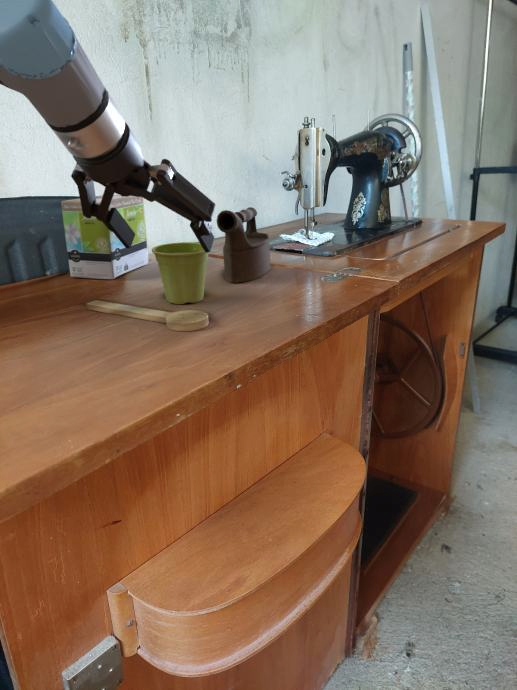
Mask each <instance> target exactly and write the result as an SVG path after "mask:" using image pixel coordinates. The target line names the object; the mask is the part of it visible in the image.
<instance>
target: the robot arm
mask: <svg viewBox="0 0 517 690" xmlns="http://www.w3.org/2000/svg"><path fill="white" fill-rule="evenodd" d="M0 85H1V86H3V87H5V88H7V89H10V90H12V91H15V92H17V93H19V94H21V95H23V96H24V97H25V98H26V99H27V100H28V101H29V103H30V104H31V105H32V106H33V107H34V109H35V110H36V111H37V112H38V114H39V115H40V116H41V117H42V119H43V120H44V121H45V123H46V125H47V126H49V128H50V129H51V130H52V131H53V133H54V134H55V135H56V137H57V138H58V140H59V141H60V142H61V143H62V144H63V146H64V148H65V149H66V150H67V151H68V153H70V155H72V158H73V159H74V161H75V162H76V164H75V166H74V168H73V170H72V172H71V174H70V177H71V179H72V180H73V182H74V183H75V185H76V186H77V192H78V195H79V198H80V202H81V207H82V212H83V215H84V216H85V217H86V218H91V217H92V216H94V217H96V219H97V220H99V221H102V222H103V223H104V224H105V226H106V227H107V228H108V229H109V230H110V231H111V232H113V233H114V234H115V235H116V236H117V238H118V239H119V240H120V241H121V243H122V244H123V245H124V246H125V247H126V248H131V245H132V242H133V240H134V237H135V233H134V231H133V230H132V229H131V228H130V226H129V225H128V224H127V222H126V221H125V220H124V218H123V217H122V216H121V214H120V213H119V212H118V210H117V209H116V208H111V209H110V211H109V207H110V204H111V201H112V199H113V196H114V195H121V196H122V197H127V196H135V197H143V200H146V201H148V202H150V203H154V202H156V203H158V204H160V205H161V206H163V207H165V208H167V209H169V211H172V212H174V213H175V214H177V215H178V216H181V217H183V218H184V219H186V220H187V221H189V222H190V223H189V227H190V229H191V231H192V232H193V234H194V236H195V237H196V239H197V241H198V243H200V244H201V246H202V248H203V249H204V251H205V252H208V254H210V253H211V251H212V247H213V245H214V240H215V236H214V234H213V232H212V229H213V224H212V222H213V221H212V219H213V217H214V214H215V211H216V207H217V204H216V202H214V201H213V200H212V199H210V198H209V197H208V196H207V195H206V194H204V193H203V192H202V191H201V190H200V189H199V188H197V187H196V186H195V185H194V184H192V182H190V181H189V180H188V179H187V178H186V177H184V176H183V175H182V174H181V173H180V172H178V170H177V169H176V168H175V166H174V164H173V163H172V162H171V160H170V159H167V158H162V159H161V161H160V164H154V165H151V164H150V163H149V162H147V160H146V159H145V158H144V157H143V153H142V150H141V149H142V148H141V146H140V144H139V142H138V140H137V138H136V137H135V135H134V133H133V132H132V129H131V128H130V126H129V124H128V123H127V122H126V121H125V117H124V116H123V113H122V112H121V111H120V109H119V108H118V106H117V104H116V103H115V101H114V100H113V98H112V96H111V94H110V93H109V91H108V90H107V89H106V87H105V85H104V83H103V82H102V80H101V78H100V76H99V74H98V73H97V71H96V69H95V68H94V66H93V64H92V63H91V60H90V59H89V57H88V56H87V54H86V52H85V50H84V48H83V46H82V45H81V44H80V42H79V40H78V38H77V37H76V34H75V31H74V29H73V27H72V26H71V25H70V23H69V21H68V20H67V18H65V16H64V15H63V14H62V13H61V11H60V10H59V8H58V7H57V5H56V4H55V2H54V1H53V0H0ZM151 182H152V184H153V185H152V187H151V190H150V191H149V190H148V189H149V188H150V187H149V186H150V183H151ZM95 183H98V184H99V185H101V186H103V187H104V190H103V194H102V195H103V196H102V200H101V203H100V205H98V204H97V202H96V196H97V195H96V190H95Z"/></svg>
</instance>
